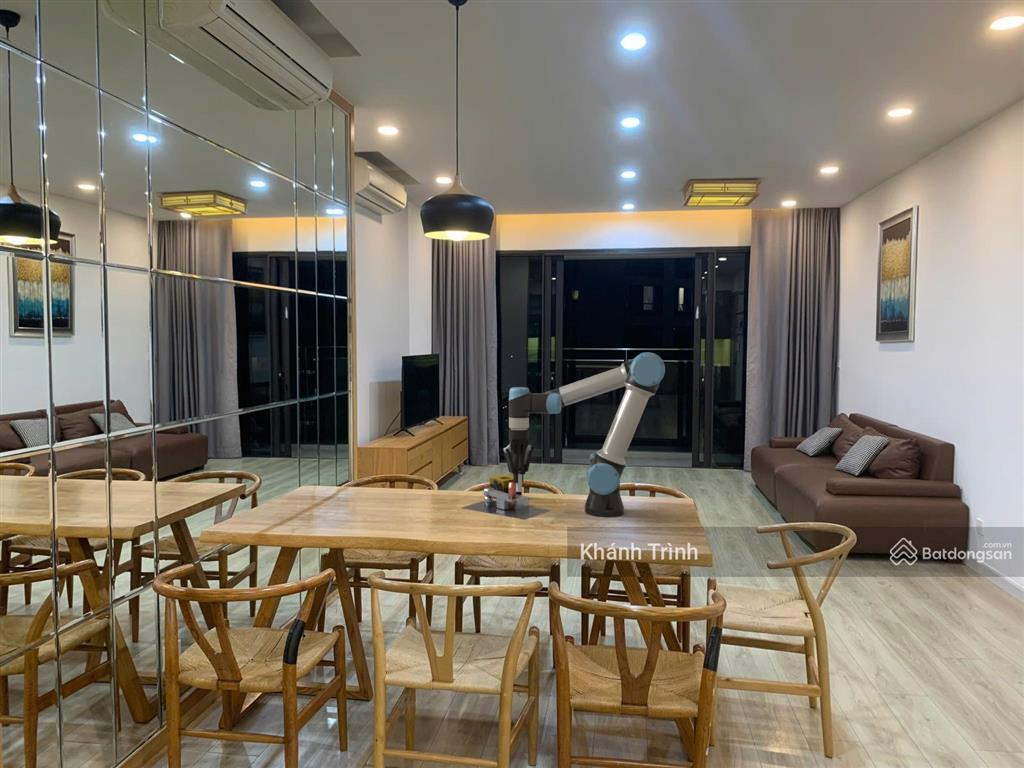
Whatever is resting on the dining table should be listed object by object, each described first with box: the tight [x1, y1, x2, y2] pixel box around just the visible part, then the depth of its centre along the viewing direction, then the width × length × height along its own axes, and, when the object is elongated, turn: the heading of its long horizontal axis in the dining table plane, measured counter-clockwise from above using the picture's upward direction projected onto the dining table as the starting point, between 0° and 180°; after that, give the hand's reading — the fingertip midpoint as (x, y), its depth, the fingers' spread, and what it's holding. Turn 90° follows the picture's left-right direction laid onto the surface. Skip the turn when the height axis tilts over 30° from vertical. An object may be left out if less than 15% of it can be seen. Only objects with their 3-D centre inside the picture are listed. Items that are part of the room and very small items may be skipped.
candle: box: [489, 474, 523, 500], centre depth 276 cm, size 10×10×10 cm
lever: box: [483, 482, 516, 510], centre depth 254 cm, size 18×4×11 cm, turn 38°
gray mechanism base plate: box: [461, 494, 551, 521], centre depth 255 cm, size 30×18×6 cm, turn 55°
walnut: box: [509, 497, 517, 509], centre depth 257 cm, size 4×4×4 cm
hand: (518, 491), depth 250 cm, fingers closed
